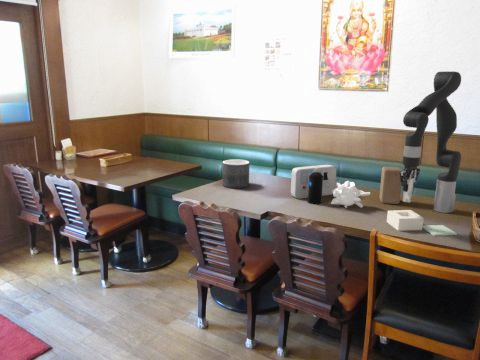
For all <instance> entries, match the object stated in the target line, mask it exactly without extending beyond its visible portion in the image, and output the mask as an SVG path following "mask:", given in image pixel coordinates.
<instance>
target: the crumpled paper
mask: <svg viewBox="0 0 480 360" xmlns="http://www.w3.org/2000/svg"><path fill="white" fill-rule="evenodd" d="M335 185H336V186H337V187H335V189H333V190H332V193H333V194H332V195H333V197H334V198H332V200H331V202H330V205H341V206H344V208H346V209H347V208H348V207H349V206H353V205H354V204H355V205H357V206H358V207H359V208H361V209H362V208H363V207H364V205H363V204H362V200H361V198H360V197H364V196H365V197H366V196H371V192H370V191H367V192H366V191H363V190H362V189H358V188H357V187H356V184H355V182H354V181H350V180H346V181H344V183H342V184H341V183H340V182H337V181H336V184H335Z"/></svg>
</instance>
